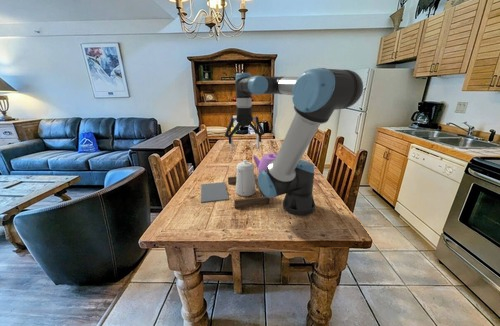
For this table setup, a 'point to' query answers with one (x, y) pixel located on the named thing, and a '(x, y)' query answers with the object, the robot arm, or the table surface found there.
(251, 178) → the coffeepot
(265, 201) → the bracket
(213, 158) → the table surface
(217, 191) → the trivet
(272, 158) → the teapot
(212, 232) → the table surface
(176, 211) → the table surface
